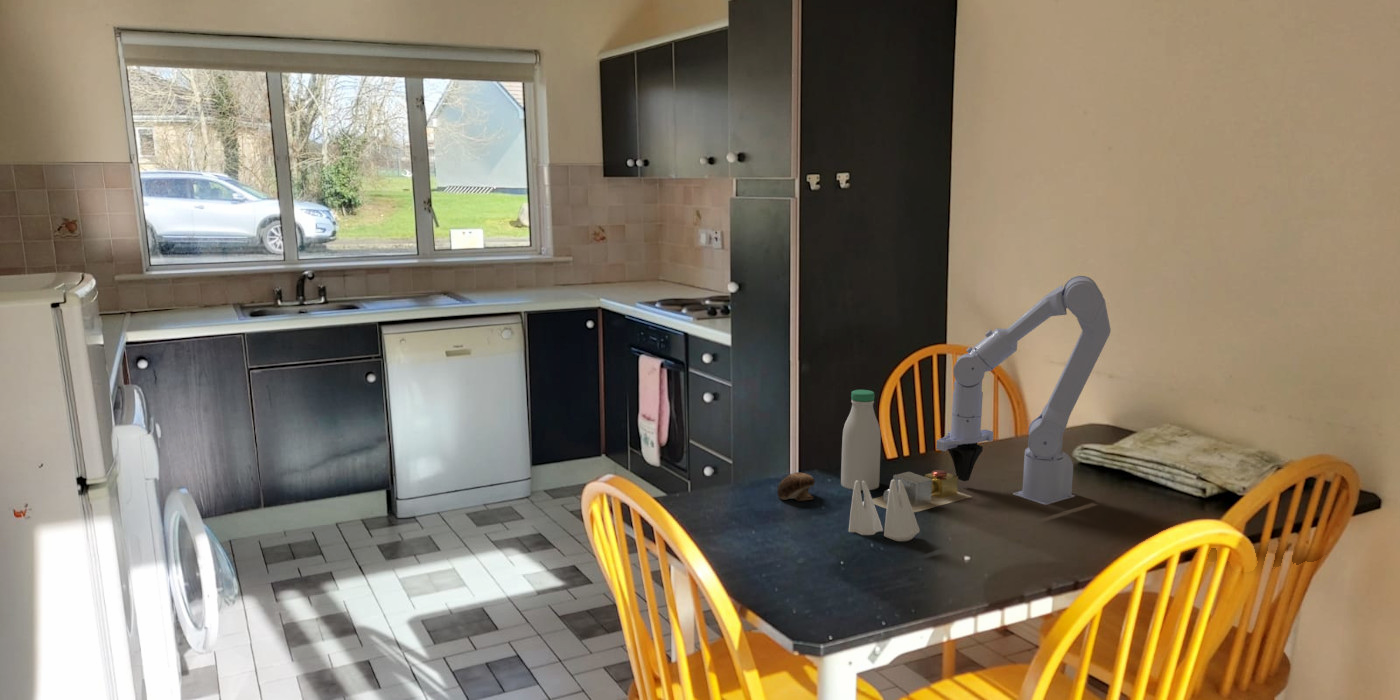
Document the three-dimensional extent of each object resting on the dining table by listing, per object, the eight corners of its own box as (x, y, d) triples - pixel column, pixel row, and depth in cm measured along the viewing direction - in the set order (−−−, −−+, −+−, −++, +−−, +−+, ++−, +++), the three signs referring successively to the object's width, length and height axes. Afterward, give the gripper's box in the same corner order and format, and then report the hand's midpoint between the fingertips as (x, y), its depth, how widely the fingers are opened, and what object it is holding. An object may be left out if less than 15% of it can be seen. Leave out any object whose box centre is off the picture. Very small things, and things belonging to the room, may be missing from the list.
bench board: (933, 486, 201) (933, 483, 200) (972, 499, 192) (972, 496, 192) (865, 503, 190) (865, 500, 190) (903, 518, 182) (903, 515, 182)
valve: (939, 487, 198) (940, 467, 197) (957, 494, 194) (958, 472, 193) (913, 494, 193) (914, 473, 193) (930, 501, 190) (931, 479, 189)
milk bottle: (881, 493, 196) (885, 396, 192) (843, 493, 196) (846, 395, 193) (875, 481, 204) (879, 387, 200) (838, 481, 204) (841, 387, 200)
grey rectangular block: (908, 494, 194) (909, 471, 193) (930, 502, 189) (931, 479, 188) (877, 502, 189) (878, 478, 188) (900, 511, 184) (900, 487, 183)
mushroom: (828, 490, 188) (811, 461, 189) (793, 510, 186) (776, 481, 187) (817, 497, 196) (801, 469, 197) (784, 516, 193) (768, 488, 195)
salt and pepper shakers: (920, 540, 171) (923, 480, 169) (912, 548, 168) (915, 486, 166) (855, 528, 177) (857, 469, 175) (846, 535, 174) (848, 475, 172)
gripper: (975, 405, 203) (971, 468, 205) (926, 414, 195) (922, 480, 197) (1003, 412, 197) (998, 477, 199) (953, 422, 189) (949, 489, 191)
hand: (962, 479), depth 198 cm, fingers closed
